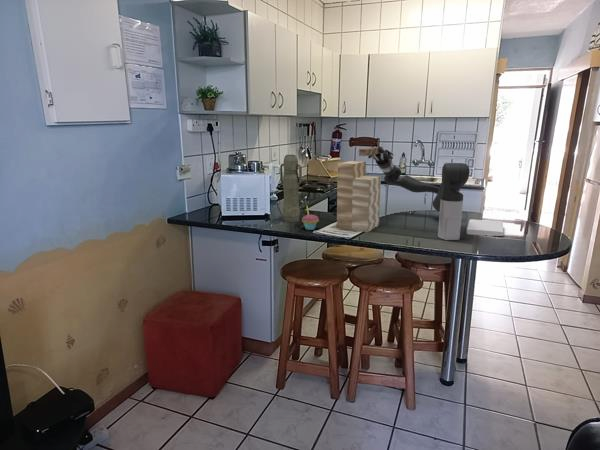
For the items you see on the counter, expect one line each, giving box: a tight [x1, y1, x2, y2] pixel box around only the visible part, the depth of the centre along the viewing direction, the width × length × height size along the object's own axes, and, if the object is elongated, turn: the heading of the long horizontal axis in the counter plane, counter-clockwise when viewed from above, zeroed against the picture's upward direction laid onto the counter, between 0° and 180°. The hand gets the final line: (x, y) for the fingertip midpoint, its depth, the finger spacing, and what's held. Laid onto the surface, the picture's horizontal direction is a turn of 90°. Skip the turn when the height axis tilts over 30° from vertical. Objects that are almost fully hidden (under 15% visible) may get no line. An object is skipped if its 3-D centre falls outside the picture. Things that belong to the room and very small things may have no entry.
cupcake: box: [301, 205, 320, 231], centre depth 197 cm, size 9×8×12 cm
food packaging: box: [466, 218, 504, 237], centre depth 191 cm, size 15×3×20 cm
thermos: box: [279, 154, 303, 223], centre depth 213 cm, size 9×12×35 cm
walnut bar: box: [358, 146, 384, 157], centre depth 194 cm, size 24×3×3 cm, turn 149°
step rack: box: [336, 160, 382, 233], centre depth 197 cm, size 16×16×32 cm
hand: (375, 147), depth 198 cm, fingers closed on walnut bar, 3 cm apart
